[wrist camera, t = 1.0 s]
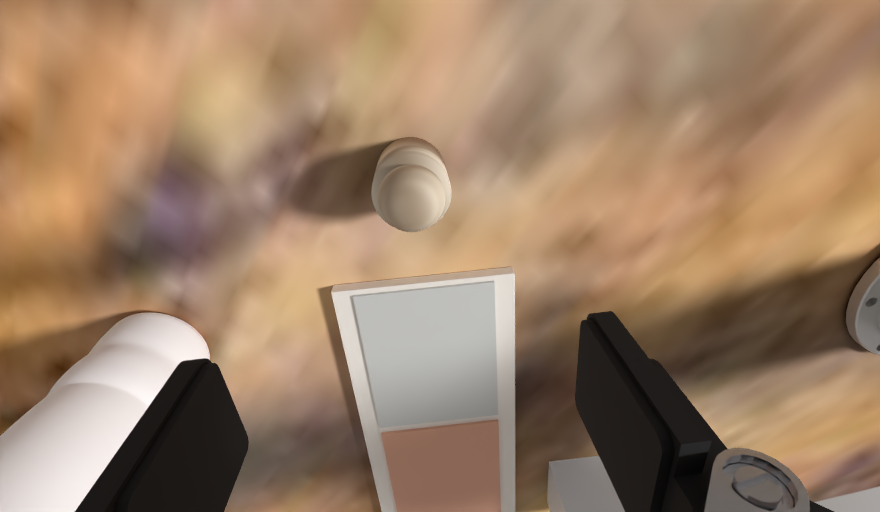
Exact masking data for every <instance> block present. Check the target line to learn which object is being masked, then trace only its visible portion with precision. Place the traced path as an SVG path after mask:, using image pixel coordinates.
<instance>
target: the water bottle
mask: <svg viewBox="0 0 880 512" xmlns="http://www.w3.org/2000/svg"><path fill="white" fill-rule="evenodd" d="M203 358H206V359H209V360H210V354H209V349H208V346H207V344H206V342H205V340H204V339H203V337H202V336H201V335H200V334H199V332H198V331H197V330H195V329H194V328H193V327H192V326H191V325H189V324H188V323H186V322H184V321H182V320H180V319H178V318H176V317H173V316H170V315H166V314H162V313H152V312H146V313H138V314H134V315H131V316H128V317H126V318H124V319H122V320H120V321H119V322H117V323H116V324H115V325H114V326H113V327H112V328H110V329H109V330H108V331H107V332H106V333H105V334H104V335H103V337H102V338H101V339H100V340H99V341H98V342H97V343H96V344H95V346H94V347H93V348H92V349H91V351H90V352H89V354H88V355H86V356H85V357H83V358H82V359H81V360H79V361H78V362H77V363H75V364H74V365H73V366H72V367H71V368H70V369H69V370H68V371H67V372H65V373H64V374H63V376H62V377H61V378H60V379H59V380H58V381H57V382H56V383H55V384H54V386H53V387H52V388H51V390H50V391H49V393H48V394H47V396H46V397H45V398H44V399H43V400H41V401H40V402H39V403H37V404H36V405H35V406H34V407H33V408H31V409H30V410H29V411H28V412H27V413H25V414H24V415H23V416H22V417H21V418H20V419H19V420H17V421H16V422H15V423H14V424H13V425H12V426H11V427H9V428H8V429H7V430H6V431H5V432H4V433H3V434H2V435H1V436H0V512H75V511H76V509H77V508H78V506H79V505H80V503H81V502H82V501H83V499H84V498H85V496H86V495H87V493H88V492H89V491H90V489H91V488H92V486H93V485H94V484H95V482H96V481H97V479H98V478H99V476H100V475H101V474H102V472H103V471H104V469H105V468H106V466H107V465H108V464H109V462H110V461H111V459H112V458H113V457H114V455H115V454H116V452H117V451H118V449H119V448H120V447H121V445H122V444H123V442H124V441H125V439H126V438H127V437H128V435H129V434H130V432H131V431H132V430H133V428H134V427H135V425H136V424H137V422H138V421H139V420H140V418H141V417H142V415H143V414H144V412H145V411H146V410H147V408H148V407H149V405H150V404H151V403H152V401H153V400H154V398H155V397H156V395H157V394H158V393H159V391H160V390H161V388H162V387H163V385H164V384H165V383H166V381H167V380H168V378H169V377H170V376H171V374H172V373H173V371H174V370H175V368H176V367H177V366H178V364H179V363H180V362H182V361H186V360H194V359H203Z"/></svg>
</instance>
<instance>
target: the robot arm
mask: <svg viewBox="0 0 880 512" xmlns="http://www.w3.org/2000/svg"><path fill="white" fill-rule="evenodd" d="M846 324H847V328H848V332H849V334H850V335H851V337H852V338H853V339H854V341H856V342H857V343H858V344H860V345H861V346H862V347H864V348H865V349H867V350H868V351H870V352H872V353H874V354H877V355H880V257H879V258H878V259H877V260H876V261H875V262H874V263H873V264H872V266H871V267H870V268H869V269H868V270H867V271H866V272H865V273H864V275H863V276H862V278H861V279H860V281H859V282H858V284H857V285H856V287H855V289H854V291H853V293H852V295H851V297H850V299H849V303H848V307H847V311H846ZM575 400H576V406H577V409H578V412H579V414H580V416H581V418H582V420H583V422H584V425H585V427H586V429H587V431H588V433H589V435H590V438H591V440H592V442H593V444H594V446H595V448H596V450H597V453H598V455H599V457H600V459H601V461H602V463H603V465H604V468H605V470H606V472H607V474H608V476H609V478H610V480H611V483H612V485H613V487H614V489H615V491H616V493H617V495H618V498H619V500H620V502H621V504H622V506H623V508H624V510H625V512H834V511H831V510H829V509H827V508H825V507H822V506H820V505H818V504H816V503H814V502H812V501H810V500H809V497H808V493H807V490H806V489H805V487H804V485H803V484H802V482H801V481H800V479H799V478H798V477H797V476H796V475H795V474H794V473H793V472H792V471H791V470H790V469H789V468H787V467H786V466H785V465H783V464H782V463H780V462H779V461H777V460H776V459H774V458H772V457H770V456H768V455H766V454H763V453H761V452H758V451H754V450H750V449H744V448H732V449H727V448H726V447H725V445H724V444H723V443H722V441H721V440H720V439H719V438H718V436H717V435H716V434H715V433H714V431H713V430H712V429H711V428H710V426H709V425H708V424H707V422H706V421H705V420H704V419H703V417H702V416H701V415H700V414H699V412H698V411H697V410H696V409H695V407H694V406H693V405H692V403H691V402H690V401H689V400H688V398H687V397H686V396H685V395H684V393H683V392H682V391H681V390H680V388H679V387H678V386H677V384H676V383H675V382H674V381H673V379H672V378H671V377H670V376H669V374H668V373H667V372H666V370H665V369H664V368H663V367H662V365H661V364H660V363H659V362H658V361H656V360H654V359H649V358H648V357H647V355H646V354H645V353H644V352H643V350H642V349H641V348H640V346H639V345H638V344H637V342H636V341H635V340H634V338H633V337H632V336H631V335H630V333H629V332H628V331H627V329H626V328H625V327H624V325H623V324H622V323H621V322H620V320H619V319H618V318H617V316H616V315H615V314H614V313H613V312H611V311H609V312H600V313H592V314H589V315H588V317H587V320H583V321H582V322H581V326H580V340H579V353H578V366H577V380H576V393H575ZM247 450H248V436H247V433H246V431H245V428H244V426H243V424H242V421H241V419H240V417H239V414H238V412H237V409H236V407H235V405H234V402H233V400H232V397H231V395H230V393H229V390H228V388H227V386H226V383H225V381H224V378H223V376H222V374H221V371H220V369H219V367H218V365H217V364H216V363H211V361H210V360H209V359H206V358H203V359H194V360H186V361H182V362H180V363H179V364H178V366H177V367H176V368H175V370H174V371H173V373H172V374H171V376H170V377H169V378H168V380H167V381H166V383H165V384H164V385H163V387H162V388H161V390H160V391H159V393H158V394H157V395H156V397H155V398H154V400H153V401H152V403H151V404H150V405H149V407H148V408H147V410H146V411H145V412H144V414H143V415H142V417H141V418H140V420H139V421H138V422H137V424H136V425H135V427H134V428H133V430H132V431H131V432H130V434H129V435H128V437H127V438H126V439H125V441H124V442H123V444H122V445H121V447H120V448H119V449H118V451H117V452H116V454H115V455H114V457H113V458H112V459H111V461H110V462H109V464H108V465H107V466H106V468H105V469H104V471H103V472H102V474H101V475H100V476H99V478H98V479H97V481H96V482H95V484H94V485H93V486H92V488H91V489H90V491H89V492H88V493H87V495H86V496H85V498H84V499H83V501H82V502H81V503H80V505H79V506H78V508H77V509H76V511H75V512H224V510H225V507H226V505H227V502H228V500H229V497H230V494H231V492H232V489H233V487H234V484H235V482H236V479H237V476H238V474H239V471H240V469H241V466H242V463H243V461H244V458H245V456H246V453H247Z"/></svg>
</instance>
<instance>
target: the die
mask: <svg viewBox="0 0 880 512" xmlns="http://www.w3.org/2000/svg"><path fill="white" fill-rule="evenodd" d="M547 503H548V506H549V509H550V512H625V510H624V508H623V506H622V504H621V502H620V500H619V498H618V495H617V493H616V491H615V489H614V487H613V485H612V483H611V480H610V478H609V476H608V474H607V472H606V470H605V468H604V465H603V463H602V461H601V459H600V457H599V456H593V457H584V458H576V459H567V460H558V461H549V469H548V489H547Z"/></svg>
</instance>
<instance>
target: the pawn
mask: <svg viewBox="0 0 880 512" xmlns="http://www.w3.org/2000/svg"><path fill="white" fill-rule="evenodd" d="M371 196H372V201H373V205H374V207H375V209H376V211H377V213H378V214H379V216H380V217H381V218H382V219H383V220H384V221H385V222H386V223H388V224H389V225H391V226H393V227H395V228H397V229H399V230H402V231H406V232H418V231H422V230H425V229H427V228H429V227H430V226H432V225H434V224H435V223H437V222H438V221H439V220H440V219H441V218H442V217H443V216H444V214H445V213H446V211H447V209H448V207H449V205H450V201H451V185H450V181H449V178H448V175H447V171H446V168H445V165H444V161H443V158H442V156H441V154H440V153H439V151H438V150H437V149H436V148H435V147H434V146H433V145H432V144H430V143H429V142H427V141H425V140H423V139H420V138H414V137H406V138H401V139H398V140H396V141H394V142H392V143H391V144H389V145H388V146H387V147H386V148H385V149H384V150H383V152H382V153H381V155H380V157H379V160H378V163H377V167H376V171H375V175H374V179H373V183H372V189H371Z"/></svg>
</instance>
